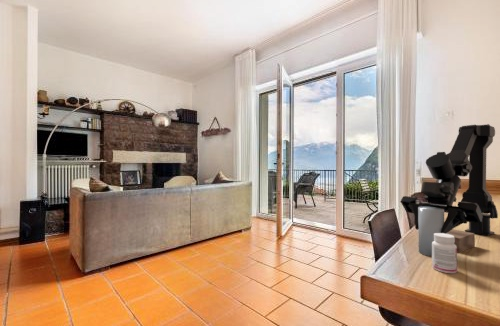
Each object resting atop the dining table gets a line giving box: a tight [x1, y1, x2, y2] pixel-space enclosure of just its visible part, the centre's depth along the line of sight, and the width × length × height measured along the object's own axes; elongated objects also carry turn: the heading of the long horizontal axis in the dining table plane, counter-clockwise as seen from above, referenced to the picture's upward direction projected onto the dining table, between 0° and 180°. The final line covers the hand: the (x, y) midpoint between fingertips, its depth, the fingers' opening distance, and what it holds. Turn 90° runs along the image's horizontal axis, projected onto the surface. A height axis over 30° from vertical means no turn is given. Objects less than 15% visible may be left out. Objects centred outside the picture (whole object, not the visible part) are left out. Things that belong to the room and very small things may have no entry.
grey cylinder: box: [417, 206, 445, 258], centre depth 69 cm, size 6×6×13 cm
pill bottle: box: [431, 233, 458, 274], centre depth 59 cm, size 5×5×8 cm
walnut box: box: [446, 228, 476, 253], centre depth 77 cm, size 10×10×4 cm
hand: (428, 231), depth 69 cm, fingers closed on grey cylinder, 6 cm apart
